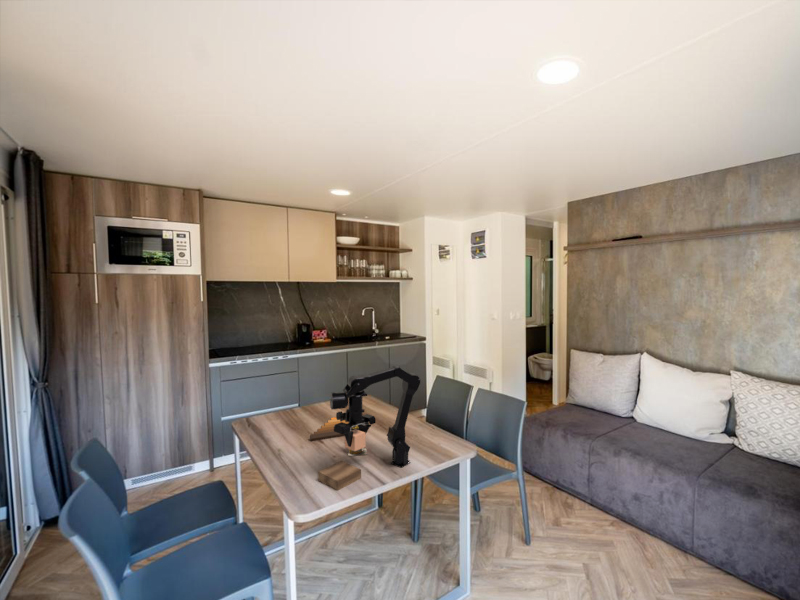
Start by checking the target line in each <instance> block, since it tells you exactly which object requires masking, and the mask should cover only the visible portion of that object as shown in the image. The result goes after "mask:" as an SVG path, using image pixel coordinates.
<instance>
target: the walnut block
mask: <svg viewBox="0 0 800 600" xmlns="http://www.w3.org/2000/svg"><path fill="white" fill-rule="evenodd" d="M317 474H318V475H317V477H318V479H317V480H318V481H319V482H320V483H322V484H324V485H326V486H328V487H329V488H332V489H334V490H336V491H340V490H342V489H345V487H347V486H350V485H352V484H353V483H355V482H357V481H359V480H361V479H362V469H361V468H359V467H356V466H354V465H352V464H349V463H348V462H345V461H342V460H340V461H338V462H336V463H334V464H332V465H329V466H328V467H325V468H323V469H321V470H318V471H317Z"/></svg>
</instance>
